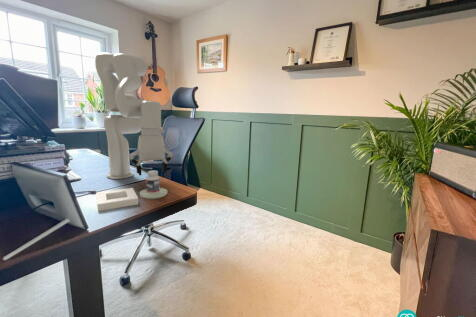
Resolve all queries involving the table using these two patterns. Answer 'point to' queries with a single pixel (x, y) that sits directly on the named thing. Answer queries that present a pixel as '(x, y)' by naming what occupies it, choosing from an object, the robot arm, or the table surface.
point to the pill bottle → (152, 182)
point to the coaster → (153, 196)
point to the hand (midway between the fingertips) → (152, 173)
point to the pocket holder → (116, 199)
